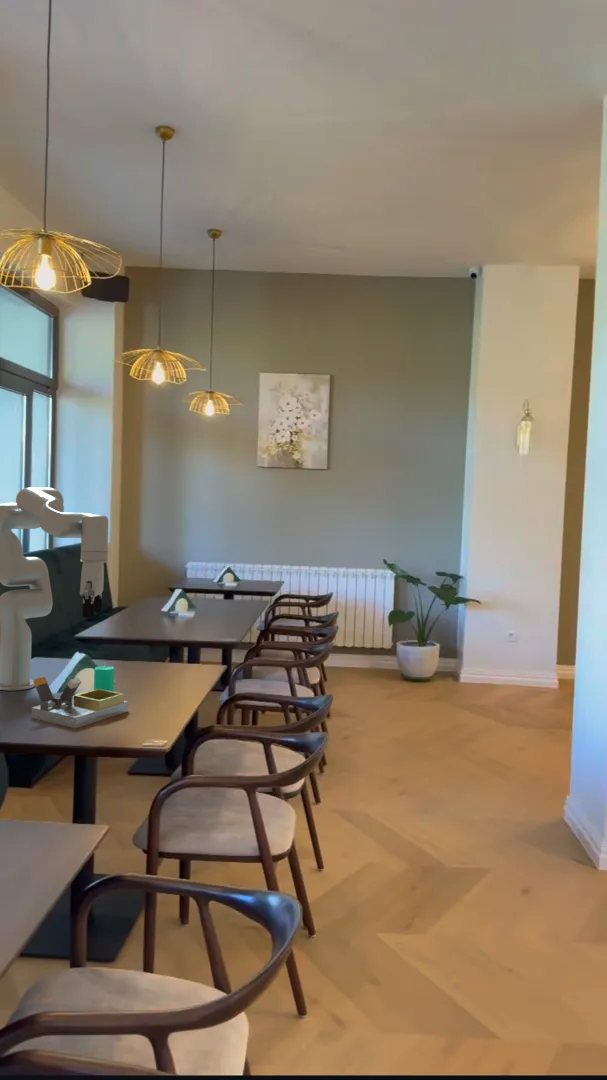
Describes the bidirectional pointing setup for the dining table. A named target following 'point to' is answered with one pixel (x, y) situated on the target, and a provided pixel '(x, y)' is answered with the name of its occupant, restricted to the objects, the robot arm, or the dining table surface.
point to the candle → (104, 678)
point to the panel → (82, 708)
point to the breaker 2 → (70, 690)
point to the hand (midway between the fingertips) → (92, 614)
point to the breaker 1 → (44, 691)
